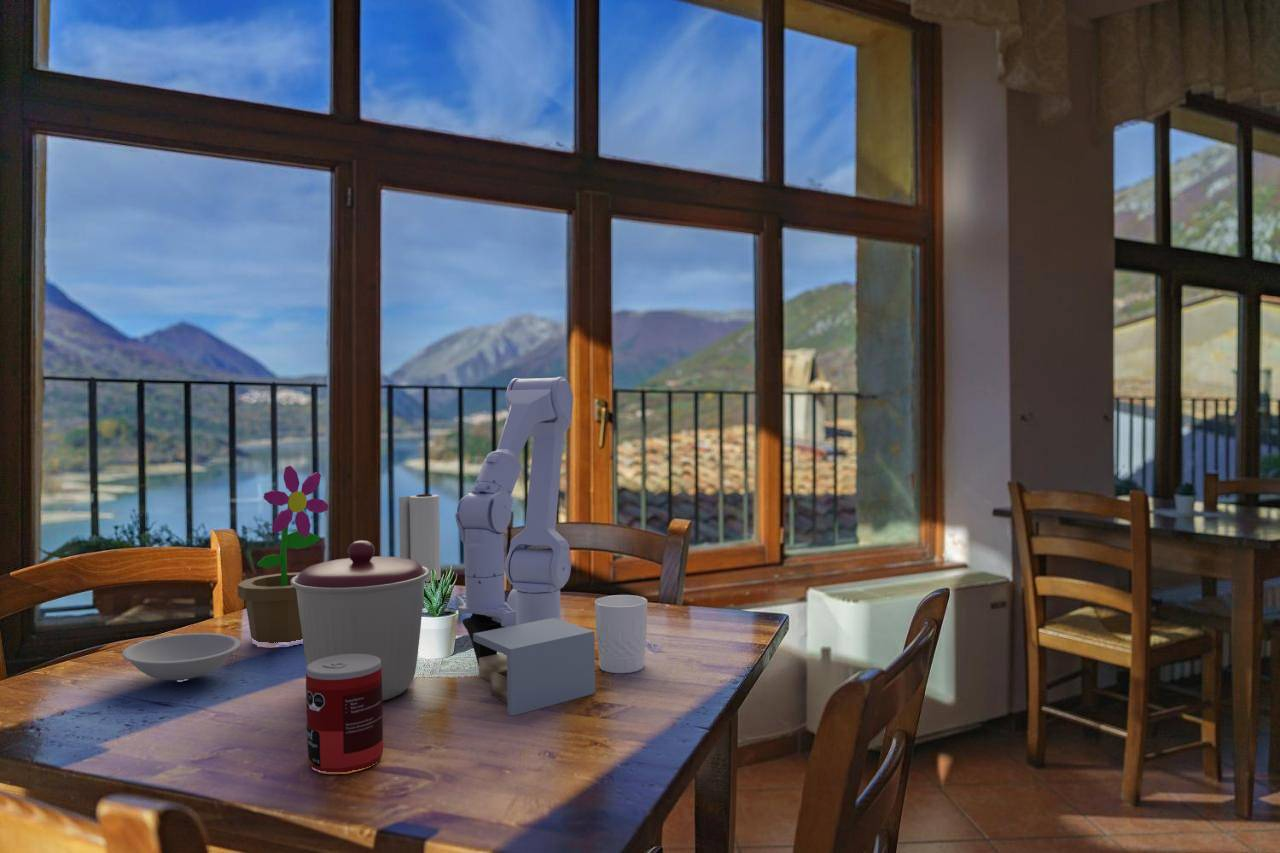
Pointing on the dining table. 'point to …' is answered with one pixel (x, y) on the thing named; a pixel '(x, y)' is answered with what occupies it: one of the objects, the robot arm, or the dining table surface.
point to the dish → (181, 654)
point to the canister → (364, 611)
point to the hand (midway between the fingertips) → (486, 665)
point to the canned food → (344, 712)
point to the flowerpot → (282, 565)
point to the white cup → (621, 632)
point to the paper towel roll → (420, 531)
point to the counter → (544, 662)
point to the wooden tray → (495, 674)
